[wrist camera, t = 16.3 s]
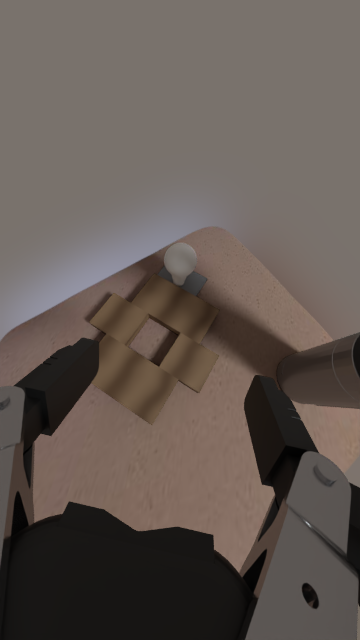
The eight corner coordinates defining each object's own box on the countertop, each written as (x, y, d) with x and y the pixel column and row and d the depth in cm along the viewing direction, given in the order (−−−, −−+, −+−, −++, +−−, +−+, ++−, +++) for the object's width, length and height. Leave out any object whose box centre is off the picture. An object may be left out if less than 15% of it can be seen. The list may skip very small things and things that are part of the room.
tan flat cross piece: (234, 324, 42) (238, 320, 40) (173, 437, 34) (173, 440, 32) (139, 270, 46) (138, 264, 43) (64, 361, 38) (57, 359, 35)
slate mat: (206, 280, 46) (207, 278, 45) (186, 310, 43) (187, 309, 42) (169, 260, 47) (169, 258, 46) (148, 288, 44) (147, 286, 44)
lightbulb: (184, 299, 43) (189, 269, 33) (159, 287, 44) (157, 254, 33) (196, 278, 45) (205, 244, 35) (173, 267, 46) (174, 230, 35)
